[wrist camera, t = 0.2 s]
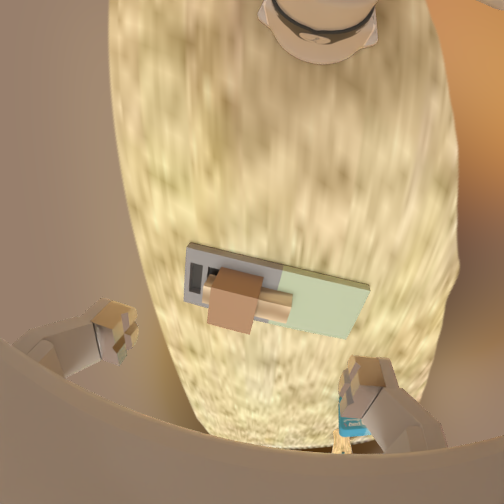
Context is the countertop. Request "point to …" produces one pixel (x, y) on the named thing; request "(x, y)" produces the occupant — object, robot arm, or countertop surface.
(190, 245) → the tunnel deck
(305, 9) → the robot arm
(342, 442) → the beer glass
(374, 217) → the countertop surface
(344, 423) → the data package
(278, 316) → the birch bar
